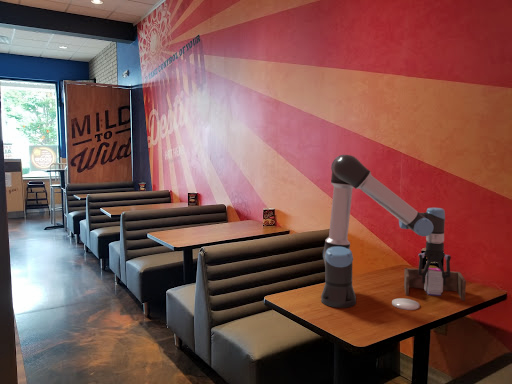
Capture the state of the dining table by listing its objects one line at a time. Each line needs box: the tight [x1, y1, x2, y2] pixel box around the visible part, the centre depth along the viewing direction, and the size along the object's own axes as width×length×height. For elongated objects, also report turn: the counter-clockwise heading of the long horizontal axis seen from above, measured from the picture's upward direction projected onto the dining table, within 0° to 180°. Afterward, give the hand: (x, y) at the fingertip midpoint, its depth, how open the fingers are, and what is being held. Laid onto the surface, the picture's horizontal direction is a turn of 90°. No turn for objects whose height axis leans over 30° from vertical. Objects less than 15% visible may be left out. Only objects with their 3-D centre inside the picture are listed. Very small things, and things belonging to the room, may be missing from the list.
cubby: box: [403, 267, 467, 302], centre depth 181 cm, size 24×13×9 cm, turn 72°
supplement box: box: [425, 267, 442, 297], centre depth 180 cm, size 6×6×12 cm
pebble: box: [391, 298, 420, 311], centre depth 168 cm, size 11×11×1 cm
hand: (433, 290), depth 180 cm, fingers closed on supplement box, 6 cm apart
